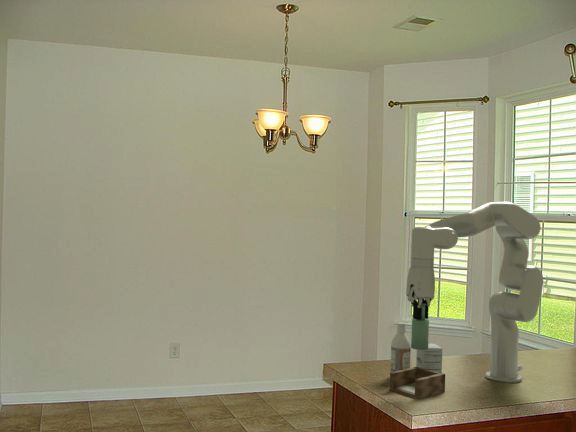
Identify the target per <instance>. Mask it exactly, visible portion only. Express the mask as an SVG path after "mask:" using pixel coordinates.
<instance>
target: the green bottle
mask: <svg viewBox="0 0 576 432" xmlns="http://www.w3.org/2000/svg"><path fill="white" fill-rule="evenodd" d="M425 306H426V303H421V307H420V308H422V319H421V320H418V319H413V318H412V319H411V339H410V340H411V341H410V345H411V349H412V350H416V351H417V350H427V349H428V344H429V339H430V337H429V336H430V335H429V334H430V333H429V331H430V320H429V318H428V319H425Z"/></svg>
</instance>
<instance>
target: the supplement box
mask: <svg viewBox="0 0 576 432" xmlns="http://www.w3.org/2000/svg"><path fill="white" fill-rule="evenodd" d="M415 358H416V359H415V361H416V363H415V367H420V368H424V369H427V370H431V371H435V372H439V373H442V372H443V370H442V369H443V368H442V367H443V348H442V347H441V346H439V345H438V344H436V343H428V349H427V350H417V349H416V357H415Z"/></svg>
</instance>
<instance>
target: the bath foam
mask: <svg viewBox="0 0 576 432" xmlns="http://www.w3.org/2000/svg"><path fill="white" fill-rule="evenodd" d="M406 326H407V325H406V323H405V322H397V323H396V334H395V335H394V337H393V338H392V340H391V345H390V371H389V373H390V372H395V371H399V370H404V369H408V368H411V351H412V350H411V349H412V348H411V341H410V339H409V337H408V335H407V333H406Z"/></svg>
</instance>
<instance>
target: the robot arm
mask: <svg viewBox="0 0 576 432" xmlns="http://www.w3.org/2000/svg"><path fill="white" fill-rule="evenodd" d="M493 227H495V230H496V232H497V234H498V236H499V238H500V239H501V242H502V243H503V247H504V249H503V257H502V261H501V266H500V269H499V270H500V271H499V276H498V277H499V278H498V281H499V284H500V286H501V287H503V288H504V289H507V290H514V291H519V293H513V292H509V291H498V292H494V294H492V295H491V297H490V298H489V301H488V310H489V315H490V357H489V359H490V360H489V361H490V362H489V364H490V365H489V371H487V372H485V378H487V379H489V380H491V381H495V382H500V383H508V384H509V383H512V384H514V383H519V382H521V381H523V377H522V375H520V374H518V373H519V372H521V371H522V370H523V366H522V365H520V364H519V363H518V361H519V335H520V334H519V333H520V332H519V327H518V323H517V322H522V323H530V322H532V321H533V320H535V318H536V316H537V313H538V310H539V305H540V301H541V296H542V294H543V293H542V291H543V287H544V275H543V273H542V270H541V269H540V268H539V267H537V266H534V265H531V264H530V265H528V259H529V248H528V245H527V243H526V241H525V240H532V239H535V238H536V237H538V235H540V232H541V223H540V220H539V219H538V218H537V217H536V216H535V215H534V214H533V213H531V212H529V211H527V210H526V209H524V208H522V207H521V206H520V205H517V204H515V203H513V202H510V201H492V202H487V203H484V204H482V205H480V206H478V207H475V208H473V209H470V210H469V211H467V212H464V213H461V214H457V215H453V216H450V217H446V218H443V219H439V220H437V221H433V222H431V223H429V224H426V226H415V227H413V228H412V230H411V246H410V247H411V248H410V249H411V251H410V267H409V269H408V274H407V277H406V278H407V280H406V288H405V289H406V291H405V294H406V297H407V301H409V302H410V303H411V307H412V319H418V320H421V319H422V308H420V307H421V303H426V306H425V319H428V320H429V309H430V306H431V302H432V301H433V300H434V299H435V292H436V291H435V290H436V278H435V270H434V267H435V266H434V264H435V250H436V249H437V250H450V249H453V248H454V247H455V246H456V245H457V243H458V242H459V241H458V240H459V238H468V237H469V238H470V237H473V236H477V235H478V234H481V233H482V232H484V231H486V230H489V229H491V228H493ZM516 321H517V322H516Z"/></svg>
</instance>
